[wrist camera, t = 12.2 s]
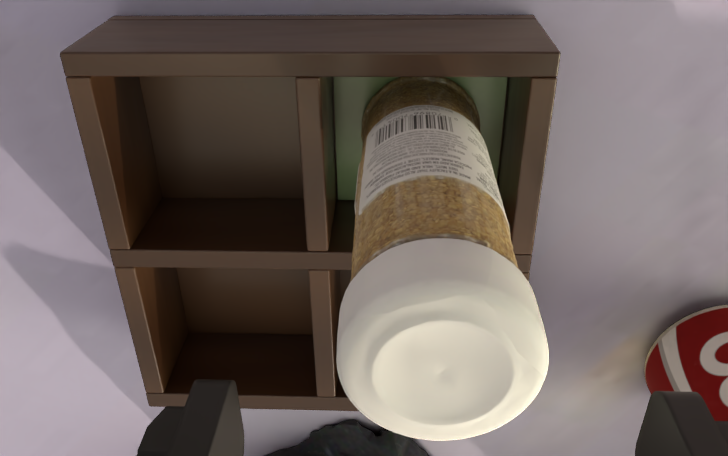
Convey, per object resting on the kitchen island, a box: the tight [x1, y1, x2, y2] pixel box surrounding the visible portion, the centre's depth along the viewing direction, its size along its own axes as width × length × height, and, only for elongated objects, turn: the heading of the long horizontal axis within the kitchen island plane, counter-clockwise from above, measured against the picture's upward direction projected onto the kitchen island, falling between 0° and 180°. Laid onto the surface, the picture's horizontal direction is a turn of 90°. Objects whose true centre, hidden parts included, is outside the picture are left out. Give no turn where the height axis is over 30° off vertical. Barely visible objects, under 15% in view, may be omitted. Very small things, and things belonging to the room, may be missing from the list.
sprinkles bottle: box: [336, 77, 549, 441], centre depth 20 cm, size 5×5×14 cm
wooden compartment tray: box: [60, 15, 561, 411], centre depth 26 cm, size 15×15×5 cm
